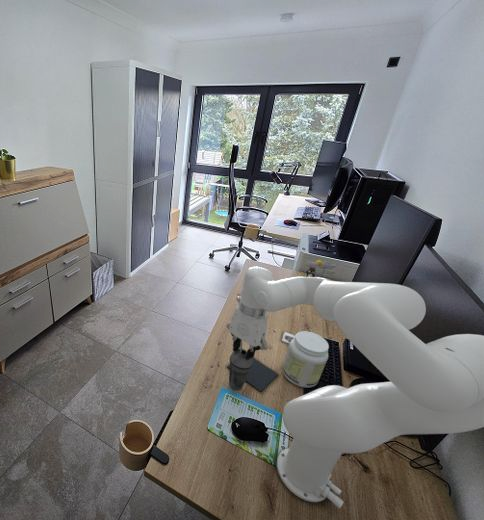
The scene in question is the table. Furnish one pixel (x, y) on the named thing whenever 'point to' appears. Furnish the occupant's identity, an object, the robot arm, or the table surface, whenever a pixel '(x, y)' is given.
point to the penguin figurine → (321, 265)
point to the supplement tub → (305, 359)
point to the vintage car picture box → (287, 337)
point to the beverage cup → (239, 368)
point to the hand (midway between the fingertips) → (242, 353)
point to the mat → (259, 375)
